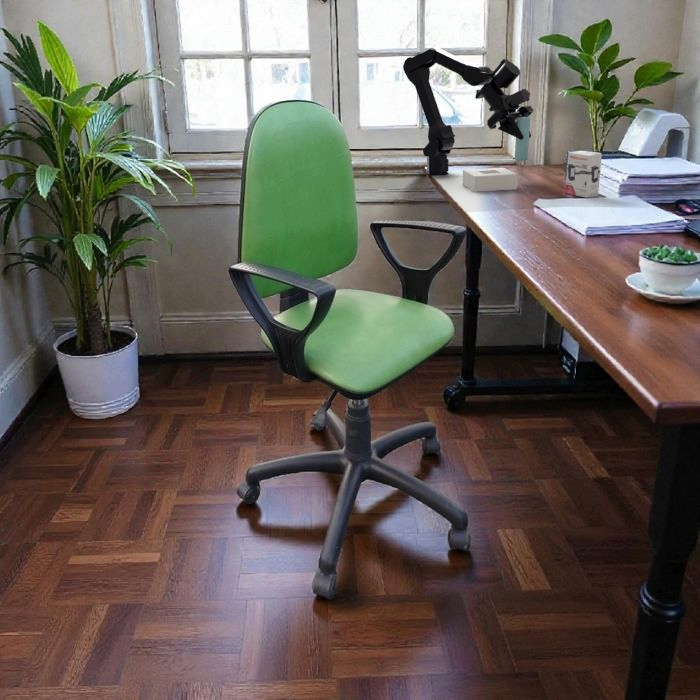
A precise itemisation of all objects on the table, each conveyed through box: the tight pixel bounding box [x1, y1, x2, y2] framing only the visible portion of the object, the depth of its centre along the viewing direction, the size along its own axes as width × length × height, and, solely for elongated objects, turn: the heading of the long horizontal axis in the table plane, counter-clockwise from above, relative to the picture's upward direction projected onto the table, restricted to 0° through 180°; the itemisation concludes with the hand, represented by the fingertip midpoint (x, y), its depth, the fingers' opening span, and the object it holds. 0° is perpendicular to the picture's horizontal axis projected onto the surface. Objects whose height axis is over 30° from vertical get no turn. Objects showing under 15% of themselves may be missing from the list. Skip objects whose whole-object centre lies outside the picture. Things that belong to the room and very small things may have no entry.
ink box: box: [564, 150, 603, 198], centre depth 214 cm, size 8×5×12 cm, turn 31°
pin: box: [514, 116, 531, 162], centre depth 234 cm, size 4×4×12 cm
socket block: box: [462, 167, 518, 193], centre depth 232 cm, size 13×13×4 cm
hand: (526, 138), depth 233 cm, fingers closed on pin, 4 cm apart
